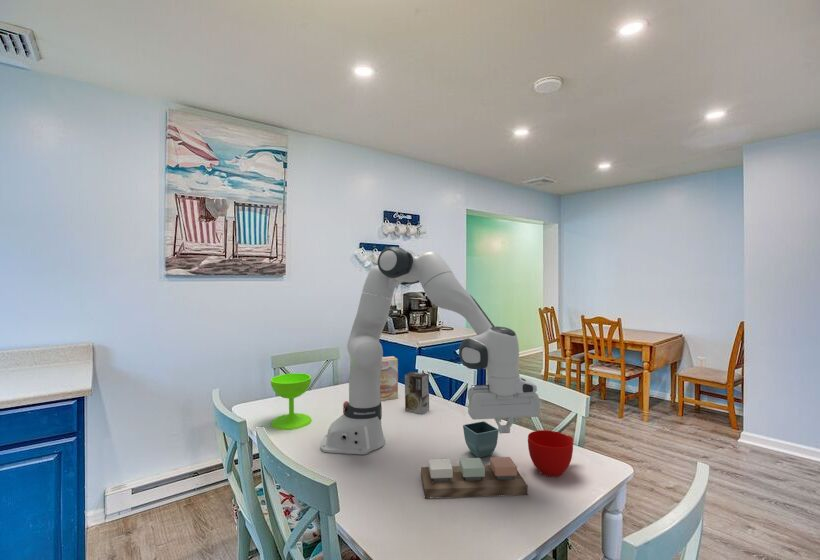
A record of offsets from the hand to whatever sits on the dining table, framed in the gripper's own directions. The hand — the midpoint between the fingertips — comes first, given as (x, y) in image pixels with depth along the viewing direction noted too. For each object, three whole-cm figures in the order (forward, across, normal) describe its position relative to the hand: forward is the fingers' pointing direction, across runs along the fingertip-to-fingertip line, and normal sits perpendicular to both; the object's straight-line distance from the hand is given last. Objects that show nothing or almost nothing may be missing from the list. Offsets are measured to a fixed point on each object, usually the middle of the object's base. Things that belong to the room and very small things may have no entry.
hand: (504, 432), depth 113 cm
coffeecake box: (+14, -36, +80) cm, 89 cm away
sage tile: (+13, -10, 0) cm, 16 cm away
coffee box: (+15, -20, +62) cm, 67 cm away
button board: (+14, -10, 0) cm, 17 cm away
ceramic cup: (+15, +17, +6) cm, 24 cm away
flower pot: (+15, -2, +19) cm, 24 cm away
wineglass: (+14, -72, +52) cm, 90 cm away
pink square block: (+13, -1, 0) cm, 13 cm away
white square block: (+13, -19, 0) cm, 23 cm away
